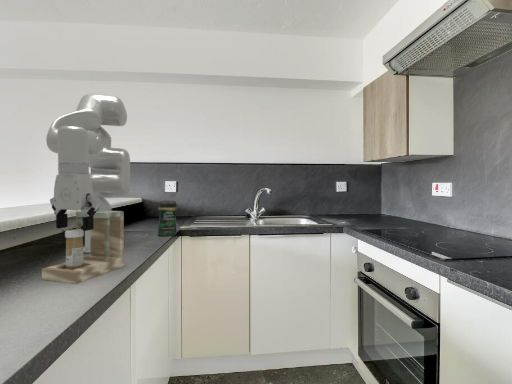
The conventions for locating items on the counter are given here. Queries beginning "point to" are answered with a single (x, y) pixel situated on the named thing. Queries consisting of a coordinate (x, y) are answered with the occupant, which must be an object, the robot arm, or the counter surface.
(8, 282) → the counter surface
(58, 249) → the counter surface
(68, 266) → the sprinkles bottle
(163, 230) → the coffee jar
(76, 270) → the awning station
